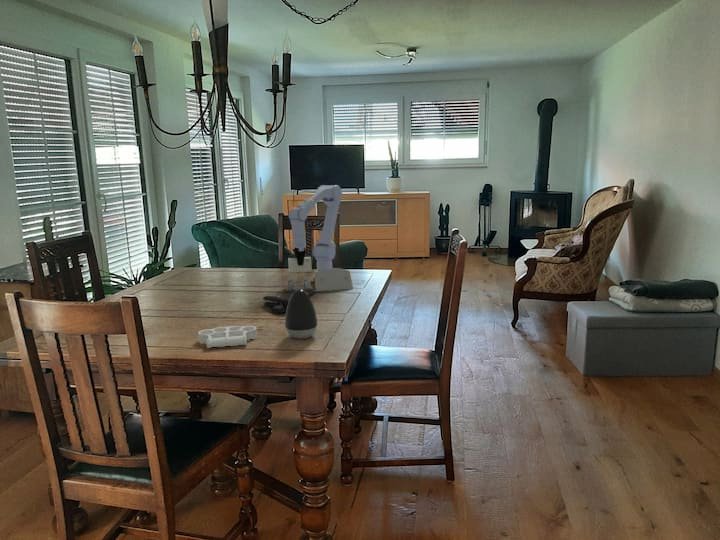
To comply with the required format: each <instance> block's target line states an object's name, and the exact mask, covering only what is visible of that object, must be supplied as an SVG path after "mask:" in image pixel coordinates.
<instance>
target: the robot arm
mask: <svg viewBox="0 0 720 540" xmlns="http://www.w3.org/2000/svg"><path fill="white" fill-rule="evenodd" d="M342 195H343V191H342V188H341V187H340V185H338V184H335V185H333V184H332V185H331V184H330V185H326V184H325V185H324V184H322V185H319V187H317V190H316V192H315V193H314V194H312V196H311V197H310V198H308V197H307V198H303V200H302V201H301V202H300V203H299V204H297V206H295V207H294V206H293V207H291V208H290V209H289V211H288V214H287V216H288V217H287V218H288V219H289V221H290V225H291V233H292V234H291V237H292V244H289V247H291V248H292V247H293V248H292V252H293V253H294V258H297V263H298V266H302V265H303V263H304V257H306V254H307V252H308V250H307V249H306V247H307V243H306V226H305V225H306V224H305V221H306V220H307V219H308V218H307V217H308V215H309V214H310V213H311V212H312V211H313V210H314V209H315V207H316V204H317V203H320V201H322V202H323V203H324V204H325V205H326V206H327V207H326V213H325V217H324V222H323V226H322V230H321V235H320V238H319V239H318V240H316V241H315V243H314V244H315V245H314V247H313V249H312V255H313V257H314V259H315V260H316V272H318V271H321V270H324V269H328V268H333V260H334V258H335V256H336V246H337V245H336V244H335V242H334V240H333V237H334V232H335V227H336V222H337V217H338V213H339V208H340V204H341V201H342V200H341V198H342Z"/></svg>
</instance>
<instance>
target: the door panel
mask: <svg viewBox="0 0 720 540" xmlns="http://www.w3.org/2000/svg"><path fill="white" fill-rule="evenodd" d="M287 261H288V272H289V273H301V272H302V273H304V272H305V273H306V272H312V270H313V269H312V268H313V267H312V257H311V256H305V257H304V263H303V265H302V266H298V263H297V258H296V257H291V258H290V257H288V259H287Z"/></svg>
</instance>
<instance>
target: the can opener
mask: <svg viewBox="0 0 720 540" xmlns="http://www.w3.org/2000/svg"><path fill="white" fill-rule="evenodd" d="M262 299H263V300H264V301H265V303H264V306H265V305H266V307H268V306H269V308H271V311H272V312H273V313H274V312H275V314H281V313H284V312H285V311H286V310H287V306H288V302H289V300H290V298H288V297H287V298H286V297H281V296H280V295H277V296H275V295H265V296H263V298H262ZM285 313H286V312H285Z"/></svg>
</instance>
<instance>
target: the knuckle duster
mask: <svg viewBox="0 0 720 540" xmlns="http://www.w3.org/2000/svg"><path fill="white" fill-rule="evenodd" d="M257 329H258V328H257V326H255V325H254V326H253V325H245V326H244V325H231V326H219V327H215V328H209V329H201V330H199V331H198V332H197V338H198V340H197V341H198V342H199V341H201V342H207V344H206V348H207V349H208V348H211V347H219V348H225V347H224V346H231V347H239V346H238V345H242V346H244V345H245V346H247V345H248V341H247V340H248V339H253V338H255V337H257V338H258V331H257ZM255 339H256V338H255ZM253 340H254V339H253ZM211 349H212V348H211Z"/></svg>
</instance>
